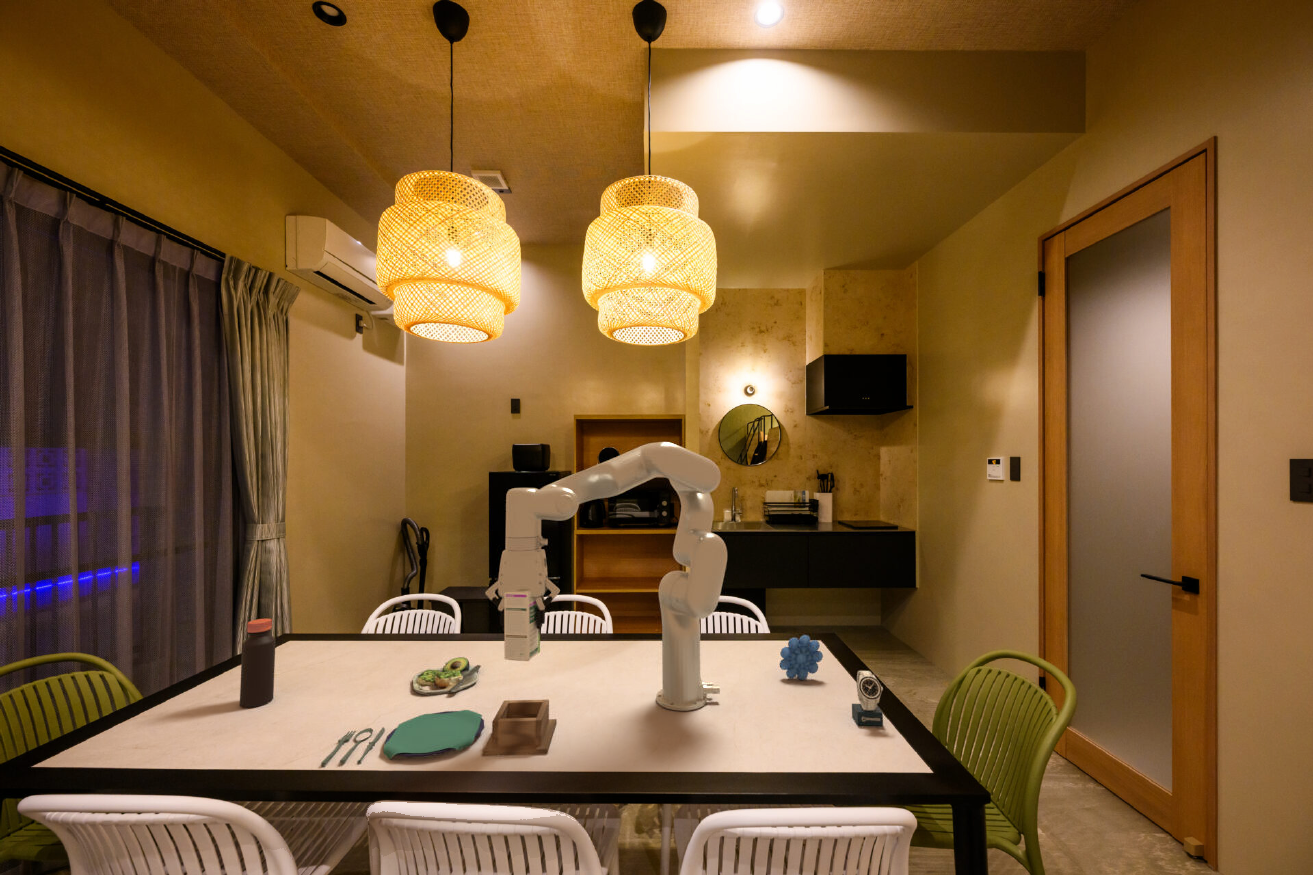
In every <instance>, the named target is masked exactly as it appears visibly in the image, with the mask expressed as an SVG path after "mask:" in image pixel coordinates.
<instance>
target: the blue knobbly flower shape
mask: <svg viewBox="0 0 1313 875" xmlns="http://www.w3.org/2000/svg"><path fill="white" fill-rule="evenodd" d="M819 649H820V642H819V641H818V640H816V639H815V640H814V639H812V640H811V638H810V636H809V635H807V634H803V635H801V636H800V637H799V639H798V638H797V637H792V638H790V639H789V640H788V643H787V646H784V647H782V648H781V649H780V654H779V655H780V656H781V660H780V662H779V668H780V669H781V670H782V671H785V675H786V677H787V678H788V679H794V678H796V677H797V678H798V680H801V681H804V680H806V679H807V678H808V676H809V674H812V675H813V674H816V673H817V672H818V670H819V664H818V663H820V662H821V661H822V660H823V657H824V654H823V653H822V651H821V650H819Z"/></svg>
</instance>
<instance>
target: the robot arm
mask: <svg viewBox="0 0 1313 875" xmlns="http://www.w3.org/2000/svg"><path fill="white" fill-rule="evenodd" d="M721 477H722V476H721V471H720V468H719V466H718V465H717V464H716V463H715V462H714V461H713V460H711V459H710V458H707V457H705V456H703V455H700V454H698V453H697V452H694V451H691V450H689V449H687V448H684V447H683V446H680V445H677V444H676V443H675V444H674V442H673V443H672V442H669V441H658V442H650V443H646V444H643V445H640V446H638V447H636V448H633V449H632V450H629V451H627V452H624V453H623V454H619V455H618V456H616V457H612V458H610V459H609V460H606V461H603V462H601V463H598V464H596V465H593V466H590V467H589V468H585V469H584V470H581V471H578V472H575V473H573V474H570V475H568V476H566V477H564V478H561V479H559V480H556V481H554V482H552V483H549V484H547V485H544V486H543V487H541V488H539V489H538V488H536V487H514V488H511V489H508V491H507V493H506V497H505V498H506V499H505V502H506V503H505V511H506V512H505V549H504V550H503V551H502V553H501V557H500V563H499V572H498V580H497V581H496V582H494V584H492V585H491V586H490V587H489V588H488V589H487V590H486V591H485V595H486V596H487V597H488V599H489V600H490V601H491V602H492V604H493V605H494V606H495V607H497V610H498V611H499V625H501V630H503V631H504V593H506V592H508V591H516V590H524V591H531V596H532V598H535V600H536V602H537V605H538V610H537V629H540V630H541V628H542V627H543V624H545V623H546V608H547V606H549V605H550V603H552V601H553V600H554V599H555V598H556V597H557V596H558V595H559V593H560V591H561V590H560V588H559V587H558V586H556V584H554V583H553V582H552V581H551V580H550V579H549V578H548V565H547V557H546V556H547V555H546V551H545V549H542V547H544V546H548V543H549V542H548V540H549V539H548V538H543V536H542V520H548V521H549V520H550V521H561V522H562V521H566V520H569V519H570V518H572V517H573V516H575V515H576V513H577V512H578V509H579V507H580V506H579V505H580V504H583V503H586V502H589V501H593V500H597V499H605V498H611V497H615V496H618V495H620V494H623V493H625V492H626V491H629V490H631V489H633V488H635V487H637V486H640V485H641V484H644V483H646V482H647V481H650V480H652V479H654V478H666V479H668V480H669V482H670V485H671V486H672V488H673V489H674V491H676V494H677V495H678V497H679V500H680V505H681V507H680V516H679V519H678V525H677V529H676V532H675V533H676V534H675V537H674V542H673V546H672V555H673V558H674V560H675V561H676V562H677V563H678V564H680V565H682V566H685V567H688V568H689V571H688V572H687V571H683V570H673V571H672V570H671V571H670V572H668V573H667V574H666V573H665V575H664V576H663V577H662V579H661V580H660V582H659V586H658V602H659V607H660V613H661V614H660V615H661V626H662V628H661V630H662V631H661V633H662V636H661V638H662V640H661V643H662V644H661V646H662V647H661V648H662V649H661V651H662V652H661V654H662V658H661V659H662V673H661V674H662V688H661V689H660V690H659V691H658V692H657V693H656V698H655V699H656V702H657V703H658V705H660V706H661V707H663V708H665V709H668V710H671V711H680V712H681V711H685V712H686V711H687V712H688V711H693V710H697V709H700V708H701V707H703V706H705V705H706V704H707V702H708V694H709V695H711V694H712V695H719V694H720V693H721V692H720V691H721V689H720V685H719V684H718V685H716V684H715V685H714V683H713V682H704V681H702V678H701V626H700V624H701V623H700V620H702V619H706V618H708V617H709V616H711V615H712V614H713V613H714V612H715V610H716V609H717V607H718V603H719V600H720V596H721V594H722V593H721V592H722V587H723V583H724V578H725V574H726V573H725V572H726V570H727V562H728V549H727V546H726V543H725V541H724V540H723V539H722V537H720V536H719V535H718V534H715V533H714V532H712V527H713V521H714V515H715V514H714V512H715V510H714V509H715V508H714V507H715V506H714V502H713V499H712V496H711V494H710V493H712V492H713V491H715V490H716V489H717V488H718V486H719V485H720V482H721V479H722V478H721ZM548 590H549V591H550V592H551V593H550V594H549V595H548V596H547V597H544V595H545V593H546V592H547V591H548ZM496 591H497V593H498V594H496Z"/></svg>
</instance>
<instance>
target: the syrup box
mask: <svg viewBox="0 0 1313 875" xmlns="http://www.w3.org/2000/svg"><path fill="white" fill-rule="evenodd" d="M537 610H538V605H537V602H536V600H535V598H532V596H531V591H524V590H516V591H508V592H506V593H504V630H503V631H504V660H508V661H517V662H530V660H531V659H532V658H534V657H535V656H536V655H537V654H539V653H541V634H540V633H541V628H540V629H537Z"/></svg>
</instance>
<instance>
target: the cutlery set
mask: <svg viewBox="0 0 1313 875" xmlns="http://www.w3.org/2000/svg"><path fill="white" fill-rule="evenodd" d="M484 729H485V720H484V718H483V714H480V713H479V712H476V711H473V710H470V709H462V710H451V711H450V710H448V711H447V710H446V711H440V712H435V713H424V714H420V715H418V716H415V717H412V718H410V719H408V720H405V721H403V722H401V723H398V726H397V727H395V728H394V729H393V730H391V731H390V733H388V735H386V737H385V741H384V746H383V754H384V756H385V757H386V758H387V759H389V760H392V758H393V757H394V756H399V757H406V758H407V757H408V758H425V757H429V756H435V755H437V756H438V755H441V754H444V753H448V752H452V751H454V750H457V751H459V752H460V751H461V750H462V749H466V748H467V747H469V746H471V745H472V744H473V742H474V741H475V739H476V738H477V737H479V736H480V735H481V734H482V731H484ZM385 730H386V729H385V727H382V728H381V729H380V730H379V732H378V733H377V734H376V736H375V737H374V739H373V740H372V741H368V745H366V749H365V751H364V752H363V754H362V755H361V757H360V758H359V759H358V760H357V763H356V764H357V765H360V764H362V762H363V759H364V758H365V756H366V755H367V754H368V752H369V751H370V750H372V749H373V747H375V744H376V743H377V742H378V741H379V740H380V738H381V737H382V736H383V735H384V732H385ZM356 732H357V730H354V731H353V730H352V731H348V732H347V733H346V734H345V735H343V736H342V737H341V738H340V739H337V740H338V743H337V745H336V747H335V748H334V749H333V750H332V751H331V752H330V753H329V754H328V755H327V756H326V757H325V758H324V760H322V762H321V764H320V765H321V766H320V767H321V768H323V767H326V766H327V764H328V763H329V762H330V761H331V759H333V758H334V757H335V755H336V754H337V753H338V752H339V750H340V749H341V747H342V746H343V745H345V744H346V743H349V742H350V740H351V739H352V738H353V736H354V734H355V736H354V738H353V739H354V741H355V742H356V743H355V744H354V745H352V747H350V749H349V750H348V751H347V752H346V753H345V754H344V755H343V757H342V758H340V760H339V764H340V765H342V764H345V763H346V762H347V760H348V758H349V757H350V756H351V754H352V753H353V751H354V750H355V749H356V748H357V747H358V745H360V743H362V742H364V741H366V740H368V739H369V738H370V737H372V735H373V733H374V729H373V728H371V727H368V728H364V729H362V730H360V731H359V732H358V733H357V734H356ZM364 733H369V734H370V735H369V736H367V737H365V738H363V739H359V740H357V738H358V737H359V736H360V735H363V734H364Z"/></svg>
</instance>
